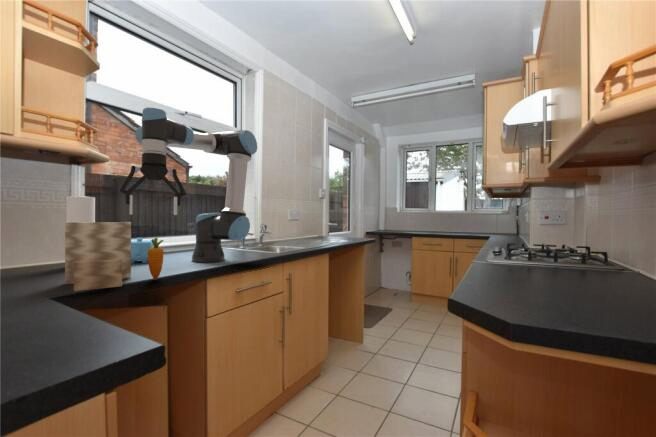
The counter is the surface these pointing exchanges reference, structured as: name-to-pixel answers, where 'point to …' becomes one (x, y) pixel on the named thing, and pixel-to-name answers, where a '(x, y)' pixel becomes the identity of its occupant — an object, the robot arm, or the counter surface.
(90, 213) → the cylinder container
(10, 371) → the counter surface
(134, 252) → the teapot
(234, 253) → the counter surface
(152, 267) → the carrot
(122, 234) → the beige patterned block
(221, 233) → the robot arm
